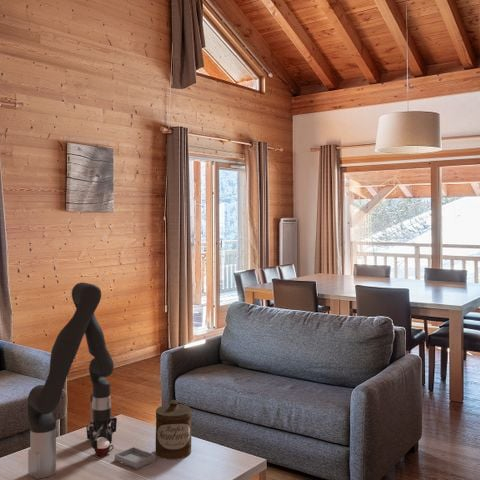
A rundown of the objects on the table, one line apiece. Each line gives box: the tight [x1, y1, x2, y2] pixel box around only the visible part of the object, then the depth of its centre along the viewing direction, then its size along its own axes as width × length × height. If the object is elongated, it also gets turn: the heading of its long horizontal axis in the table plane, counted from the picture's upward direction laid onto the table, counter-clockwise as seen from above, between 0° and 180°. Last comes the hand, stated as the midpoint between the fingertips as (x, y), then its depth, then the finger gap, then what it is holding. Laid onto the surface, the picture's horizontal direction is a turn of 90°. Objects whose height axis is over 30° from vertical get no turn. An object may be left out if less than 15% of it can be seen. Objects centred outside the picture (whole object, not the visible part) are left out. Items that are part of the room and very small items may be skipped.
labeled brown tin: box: [155, 399, 192, 460], centre depth 238 cm, size 15×15×22 cm
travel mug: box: [89, 393, 107, 439], centre depth 251 cm, size 8×8×20 cm
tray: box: [114, 446, 156, 470], centre depth 230 cm, size 10×13×2 cm
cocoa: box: [94, 437, 114, 457], centre depth 236 cm, size 10×6×12 cm, turn 85°
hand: (102, 445), depth 236 cm, fingers closed on cocoa, 6 cm apart
